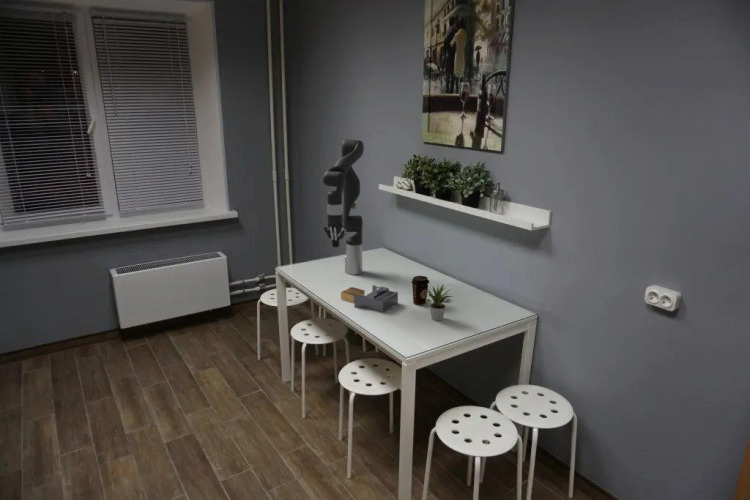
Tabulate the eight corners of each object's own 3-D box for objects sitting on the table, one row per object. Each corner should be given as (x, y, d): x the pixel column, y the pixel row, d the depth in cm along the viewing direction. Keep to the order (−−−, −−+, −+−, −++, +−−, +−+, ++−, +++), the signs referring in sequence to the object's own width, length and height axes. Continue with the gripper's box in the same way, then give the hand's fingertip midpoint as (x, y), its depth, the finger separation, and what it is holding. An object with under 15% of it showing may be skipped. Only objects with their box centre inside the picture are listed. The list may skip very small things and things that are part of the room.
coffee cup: (430, 301, 245) (431, 276, 241) (426, 307, 237) (427, 281, 234) (413, 298, 248) (414, 274, 244) (409, 305, 240) (409, 279, 236)
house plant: (429, 328, 215) (430, 293, 211) (414, 316, 228) (415, 282, 223) (457, 322, 221) (459, 288, 216) (441, 311, 233) (442, 278, 228)
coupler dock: (353, 306, 238) (353, 289, 236) (373, 295, 252) (373, 279, 249) (380, 314, 230) (380, 296, 227) (399, 301, 244) (400, 285, 241)
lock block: (340, 299, 247) (340, 291, 246) (351, 294, 254) (351, 286, 253) (353, 303, 243) (353, 295, 242) (364, 297, 250) (364, 289, 249)
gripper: (319, 212, 242) (320, 246, 247) (341, 216, 235) (342, 251, 240) (328, 209, 248) (329, 243, 253) (350, 213, 241) (351, 247, 246)
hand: (335, 247), depth 247 cm, fingers closed
